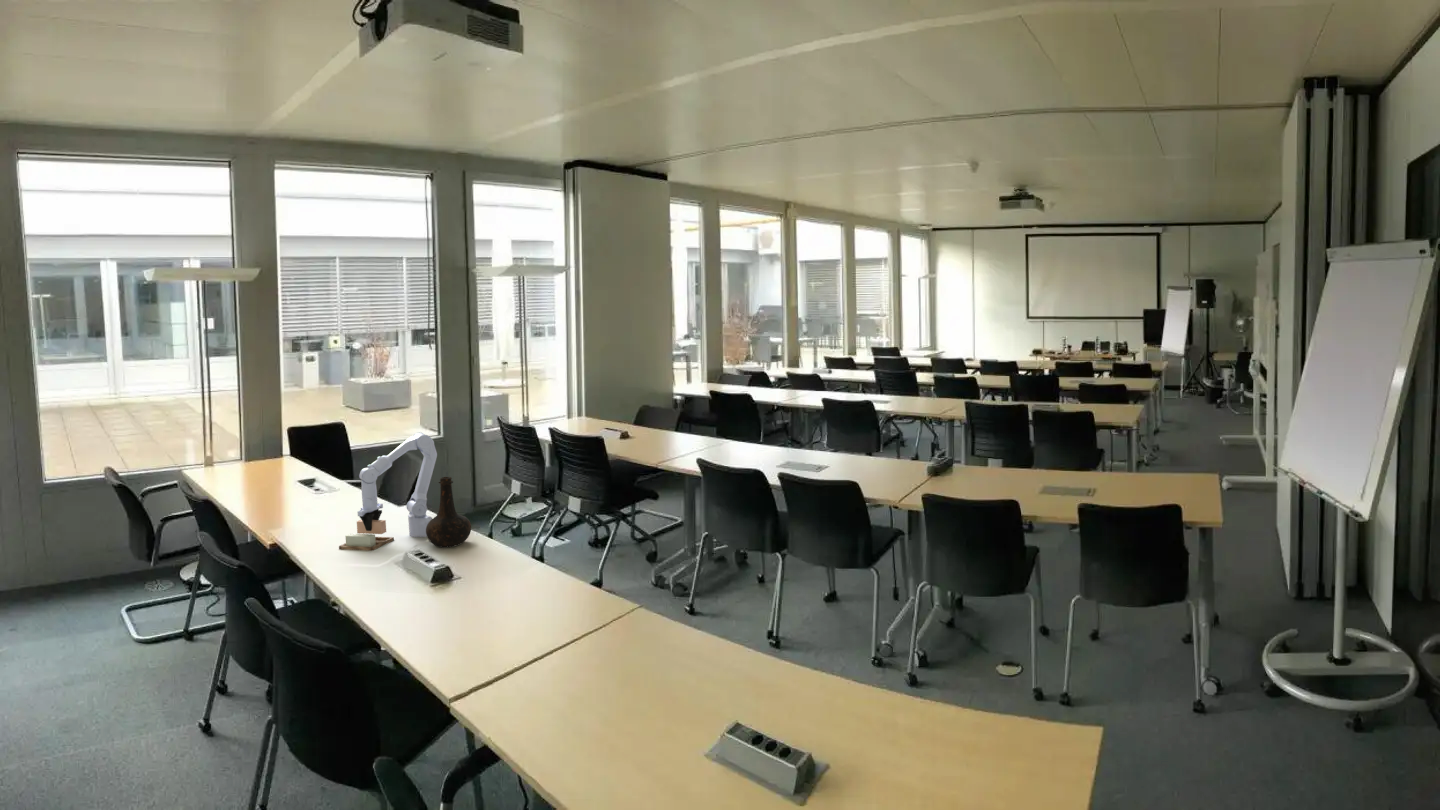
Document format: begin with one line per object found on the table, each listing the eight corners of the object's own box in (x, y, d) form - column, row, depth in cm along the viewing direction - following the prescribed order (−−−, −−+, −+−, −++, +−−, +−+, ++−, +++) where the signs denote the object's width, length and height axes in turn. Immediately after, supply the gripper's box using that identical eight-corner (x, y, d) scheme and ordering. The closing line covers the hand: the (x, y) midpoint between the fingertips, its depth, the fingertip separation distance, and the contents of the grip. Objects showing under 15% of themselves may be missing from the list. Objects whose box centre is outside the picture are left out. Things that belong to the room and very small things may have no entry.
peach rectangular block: (386, 532, 353) (385, 520, 352) (381, 534, 349) (380, 522, 349) (362, 531, 355) (361, 519, 354) (357, 533, 352) (356, 521, 351)
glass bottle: (442, 553, 337) (437, 484, 333) (418, 546, 348) (413, 478, 345) (480, 543, 350) (477, 476, 347) (456, 536, 362) (452, 471, 358)
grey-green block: (375, 546, 346) (375, 534, 345) (370, 548, 342) (369, 536, 342) (351, 545, 348) (350, 533, 347) (346, 547, 344) (345, 535, 344)
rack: (394, 542, 355) (393, 537, 354) (372, 552, 340) (372, 547, 340) (361, 540, 358) (361, 536, 357) (339, 550, 343) (338, 546, 343)
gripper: (371, 492, 358) (373, 524, 360) (349, 500, 344) (352, 533, 346) (386, 493, 357) (388, 525, 358) (365, 501, 343) (367, 534, 344)
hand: (371, 529), depth 352 cm, fingers closed on peach rectangular block, 3 cm apart
